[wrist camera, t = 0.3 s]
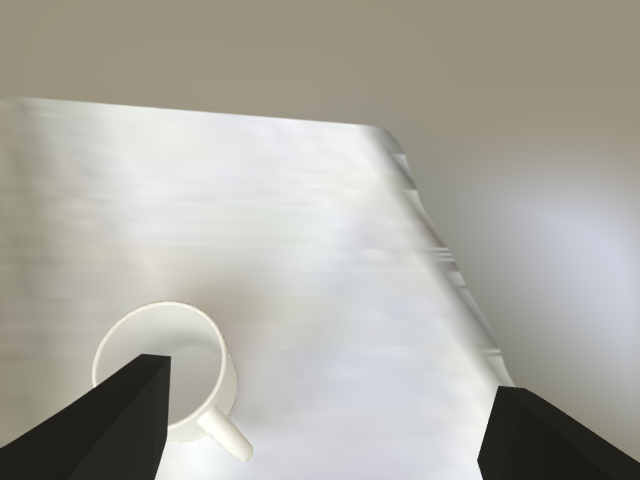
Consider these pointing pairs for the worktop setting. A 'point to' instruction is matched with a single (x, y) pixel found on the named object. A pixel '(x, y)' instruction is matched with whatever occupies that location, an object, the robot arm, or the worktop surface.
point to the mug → (181, 369)
